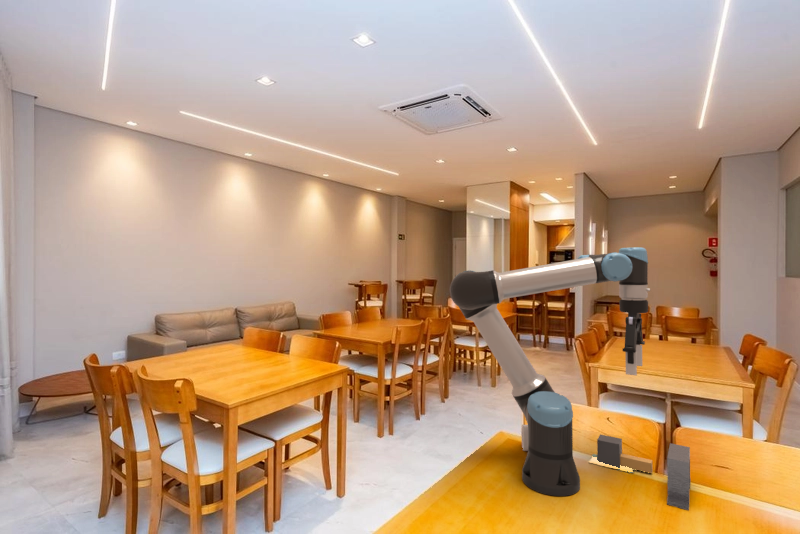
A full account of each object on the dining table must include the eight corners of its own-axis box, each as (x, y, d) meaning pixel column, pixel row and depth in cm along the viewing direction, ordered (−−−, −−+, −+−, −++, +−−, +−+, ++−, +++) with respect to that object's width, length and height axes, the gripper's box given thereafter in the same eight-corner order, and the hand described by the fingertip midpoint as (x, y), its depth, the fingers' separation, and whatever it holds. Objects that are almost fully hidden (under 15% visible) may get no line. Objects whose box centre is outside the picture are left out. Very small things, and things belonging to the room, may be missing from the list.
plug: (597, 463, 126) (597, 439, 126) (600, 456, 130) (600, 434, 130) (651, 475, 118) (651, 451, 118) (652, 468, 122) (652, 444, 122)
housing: (667, 504, 104) (666, 462, 104) (671, 476, 118) (670, 439, 118) (688, 510, 101) (688, 467, 101) (690, 481, 115) (690, 443, 115)
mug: (556, 457, 131) (556, 432, 131) (523, 454, 133) (523, 429, 133) (550, 441, 142) (550, 418, 142) (520, 439, 144) (520, 416, 144)
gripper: (643, 302, 112) (644, 381, 112) (652, 297, 133) (653, 363, 132) (612, 301, 117) (613, 377, 117) (625, 296, 137) (626, 360, 137)
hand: (634, 370), depth 125 cm, fingers open, 13 cm apart
